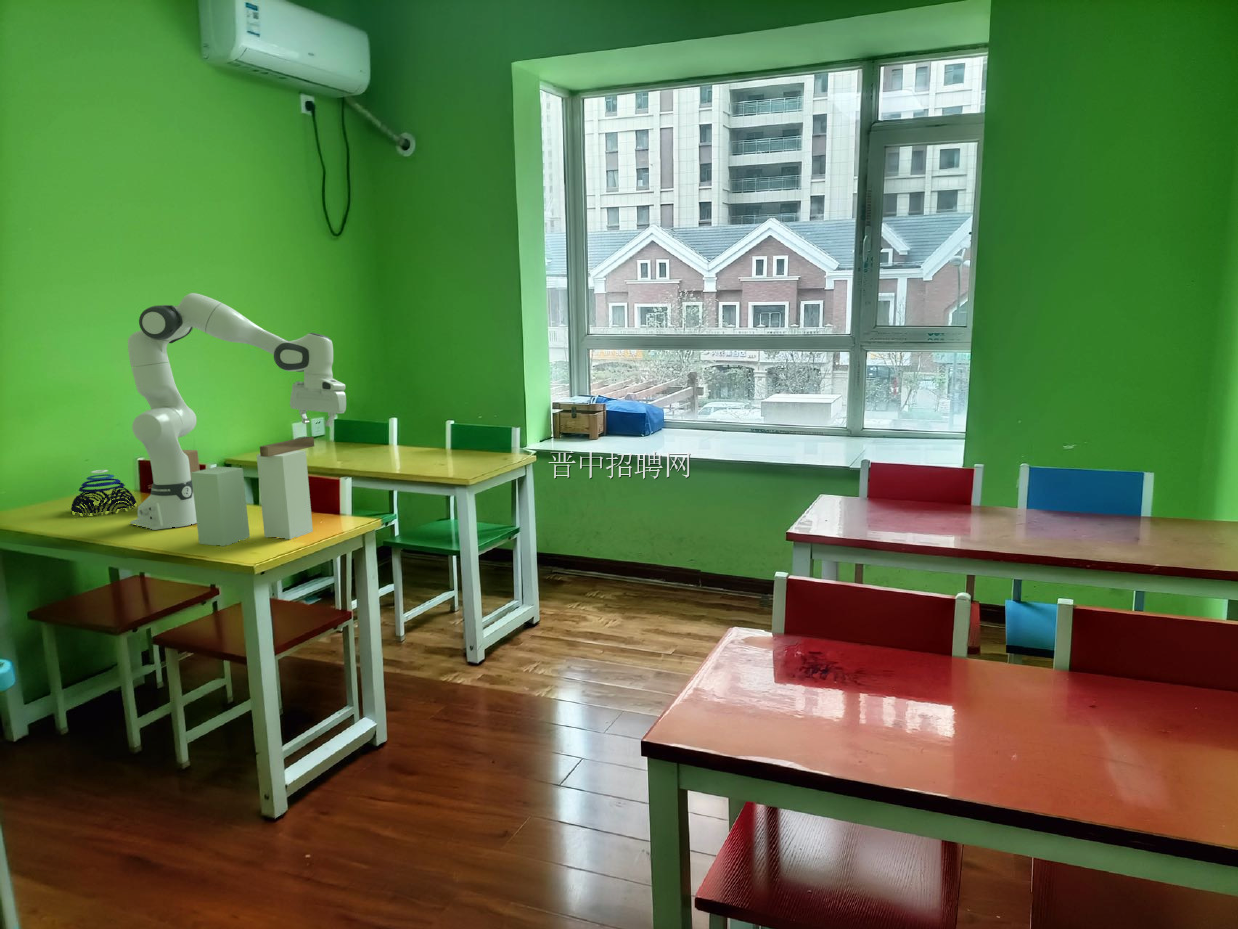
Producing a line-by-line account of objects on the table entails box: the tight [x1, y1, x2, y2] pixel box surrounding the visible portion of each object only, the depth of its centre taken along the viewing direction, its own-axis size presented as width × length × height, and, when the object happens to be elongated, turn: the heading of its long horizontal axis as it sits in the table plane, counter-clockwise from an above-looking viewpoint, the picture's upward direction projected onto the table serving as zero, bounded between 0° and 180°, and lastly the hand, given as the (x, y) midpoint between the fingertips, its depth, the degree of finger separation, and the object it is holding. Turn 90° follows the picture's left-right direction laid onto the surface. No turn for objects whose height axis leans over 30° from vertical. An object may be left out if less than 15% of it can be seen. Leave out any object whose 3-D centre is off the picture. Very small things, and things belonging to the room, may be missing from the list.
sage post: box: [191, 466, 251, 547], centre depth 257 cm, size 10×10×22 cm
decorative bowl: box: [70, 469, 137, 514], centre depth 302 cm, size 20×20×14 cm
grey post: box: [256, 449, 314, 540], centre depth 262 cm, size 10×10×26 cm
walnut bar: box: [259, 436, 315, 457], centre depth 262 cm, size 3×20×3 cm, turn 159°
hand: (317, 424), depth 280 cm, fingers open, 8 cm apart
